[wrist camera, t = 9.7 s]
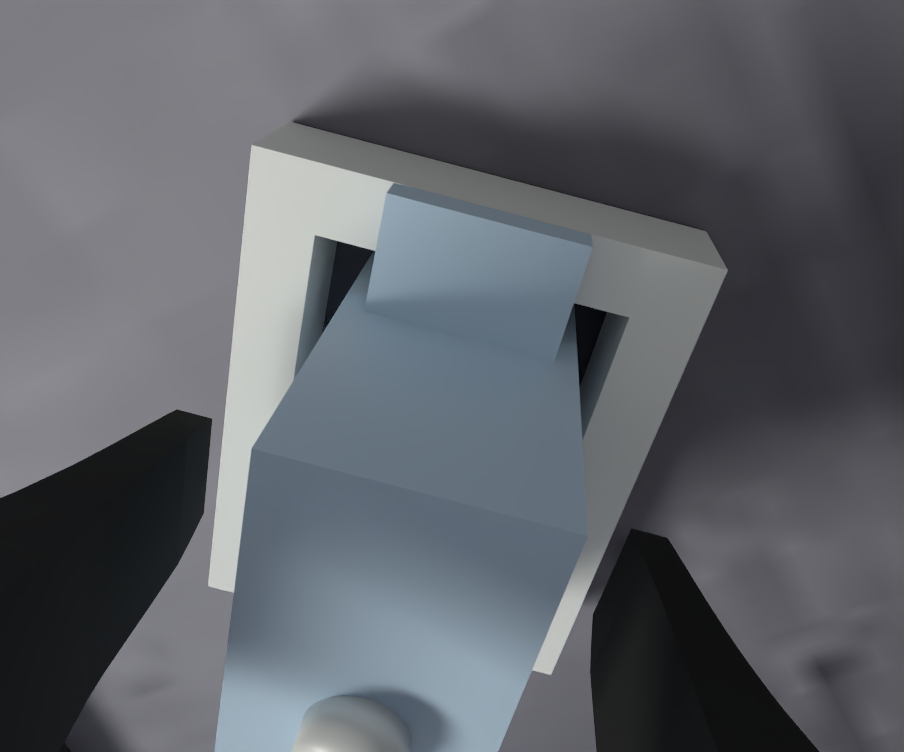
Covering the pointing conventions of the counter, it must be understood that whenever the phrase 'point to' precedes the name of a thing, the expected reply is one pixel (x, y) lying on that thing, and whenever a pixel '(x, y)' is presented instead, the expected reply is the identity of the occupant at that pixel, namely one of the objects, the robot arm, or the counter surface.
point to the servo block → (415, 495)
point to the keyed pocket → (358, 223)
